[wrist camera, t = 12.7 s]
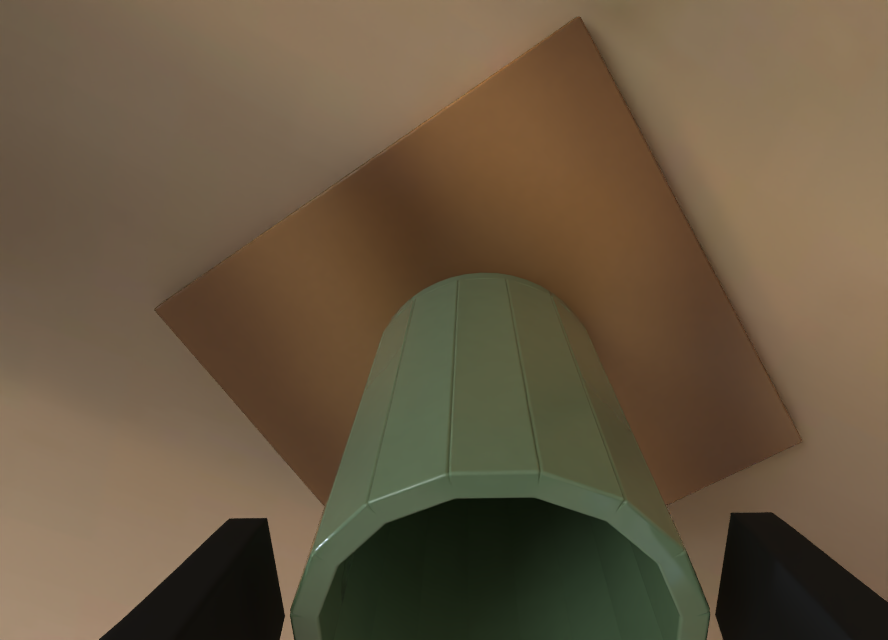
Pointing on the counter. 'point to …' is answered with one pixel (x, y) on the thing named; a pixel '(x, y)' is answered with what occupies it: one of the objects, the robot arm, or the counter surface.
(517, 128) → the coaster
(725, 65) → the counter surface
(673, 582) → the cup
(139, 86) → the counter surface
